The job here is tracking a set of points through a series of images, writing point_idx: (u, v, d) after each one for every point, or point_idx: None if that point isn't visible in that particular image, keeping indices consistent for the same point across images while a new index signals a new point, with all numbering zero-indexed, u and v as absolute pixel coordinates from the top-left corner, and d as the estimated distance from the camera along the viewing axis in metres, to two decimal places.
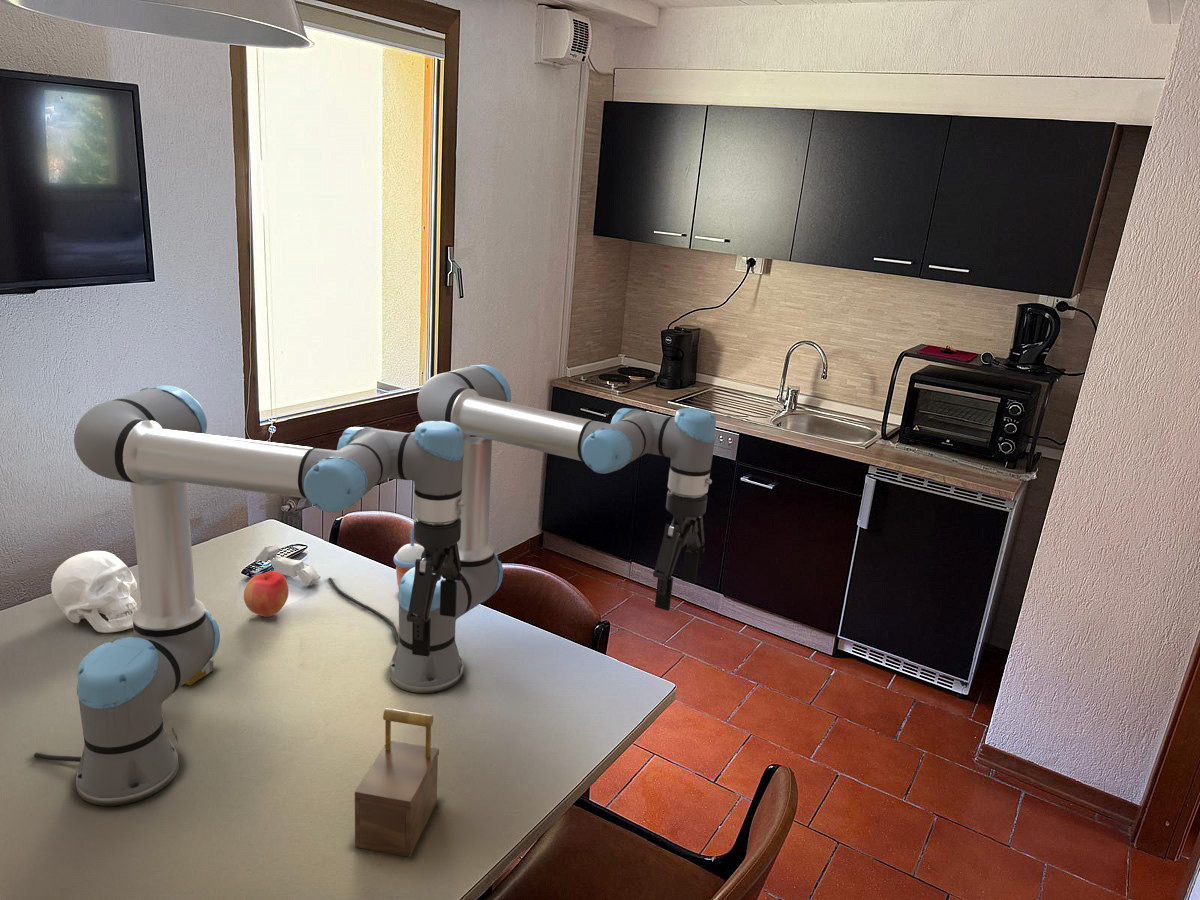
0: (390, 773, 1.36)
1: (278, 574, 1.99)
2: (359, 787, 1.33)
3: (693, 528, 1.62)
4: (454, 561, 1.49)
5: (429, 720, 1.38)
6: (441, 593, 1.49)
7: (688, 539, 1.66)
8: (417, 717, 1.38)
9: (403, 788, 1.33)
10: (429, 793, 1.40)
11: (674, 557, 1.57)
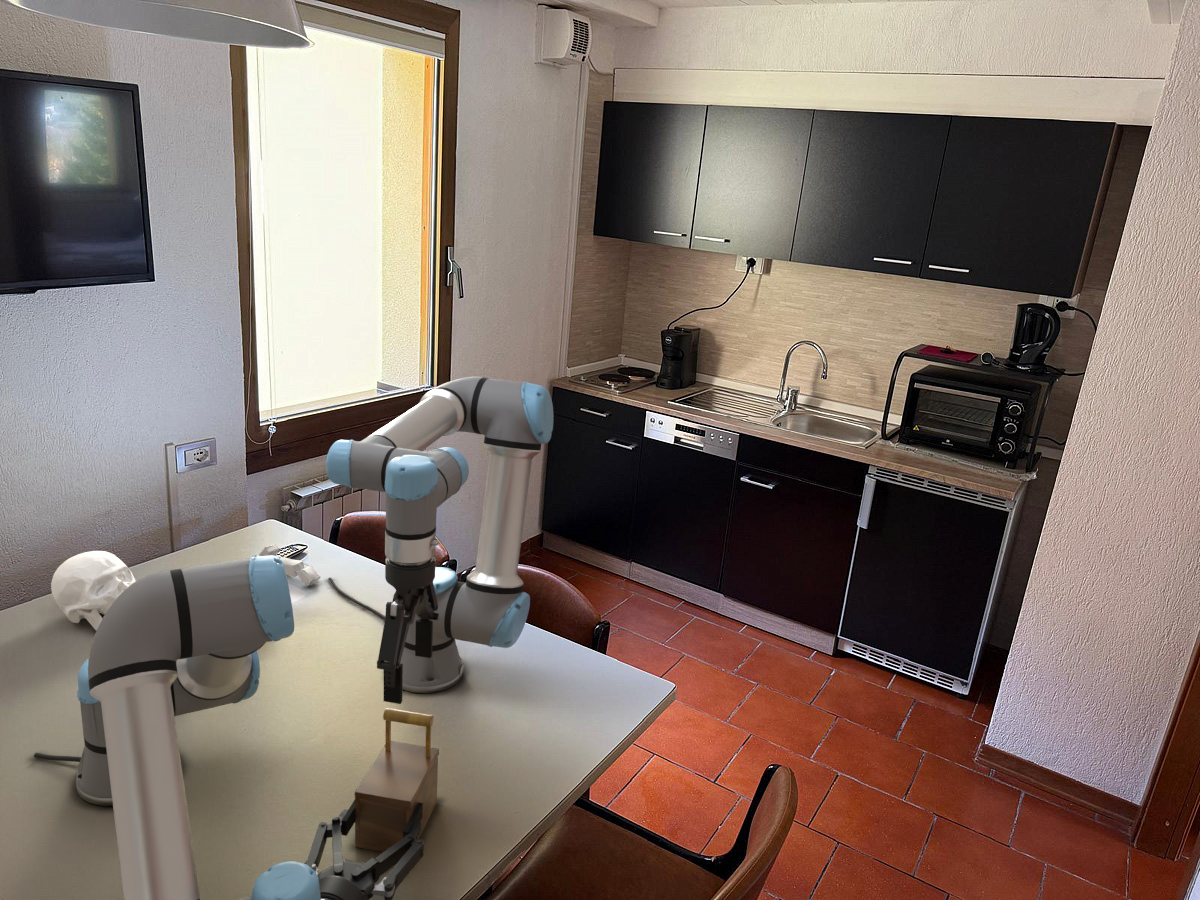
0: (390, 773, 1.36)
1: None
2: (359, 787, 1.33)
3: (422, 597, 1.34)
4: None
5: (429, 720, 1.38)
6: None
7: (418, 608, 1.38)
8: (417, 717, 1.38)
9: (403, 788, 1.33)
10: (429, 793, 1.40)
11: (401, 639, 1.28)
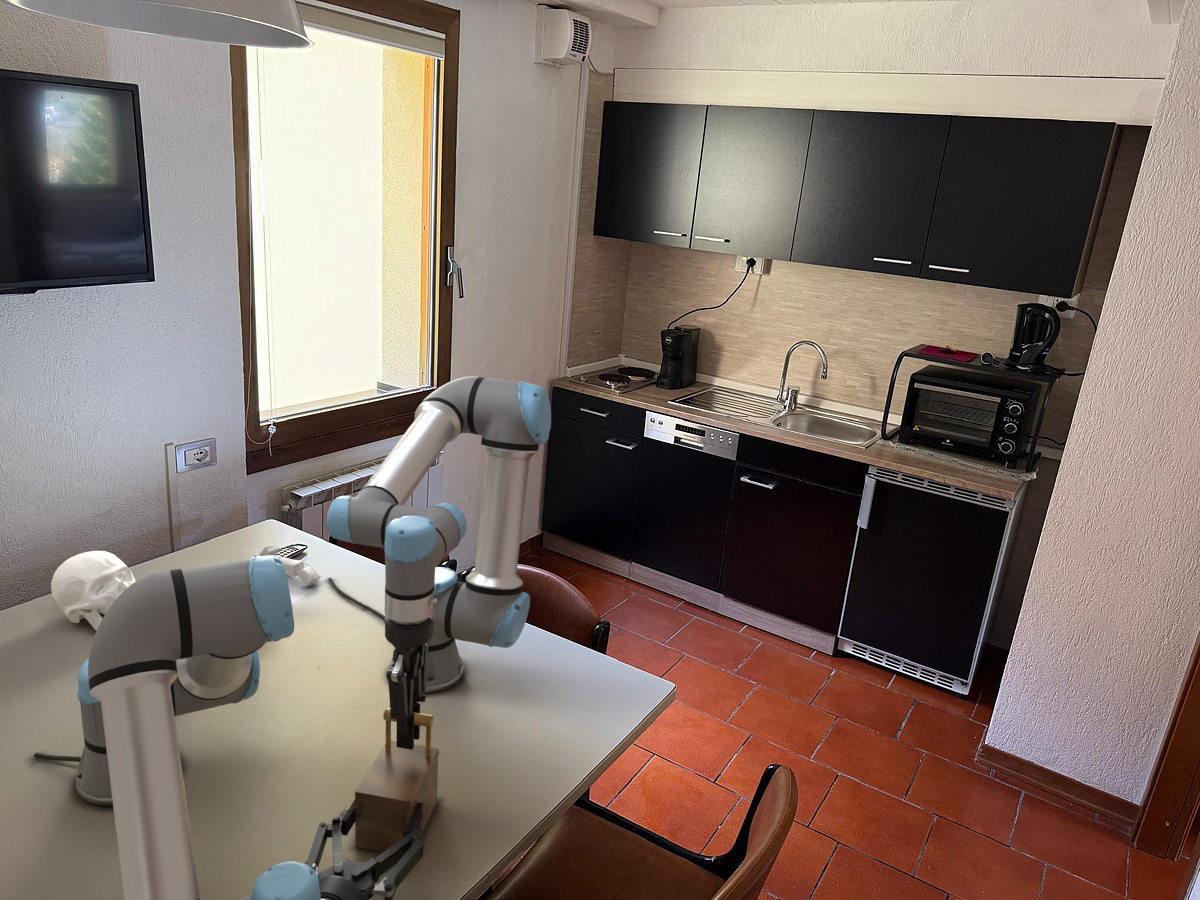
0: (390, 773, 1.36)
1: None
2: (359, 787, 1.33)
3: (419, 654, 1.36)
4: None
5: (429, 720, 1.38)
6: None
7: None
8: (417, 717, 1.38)
9: (403, 788, 1.33)
10: (429, 793, 1.40)
11: (409, 694, 1.35)
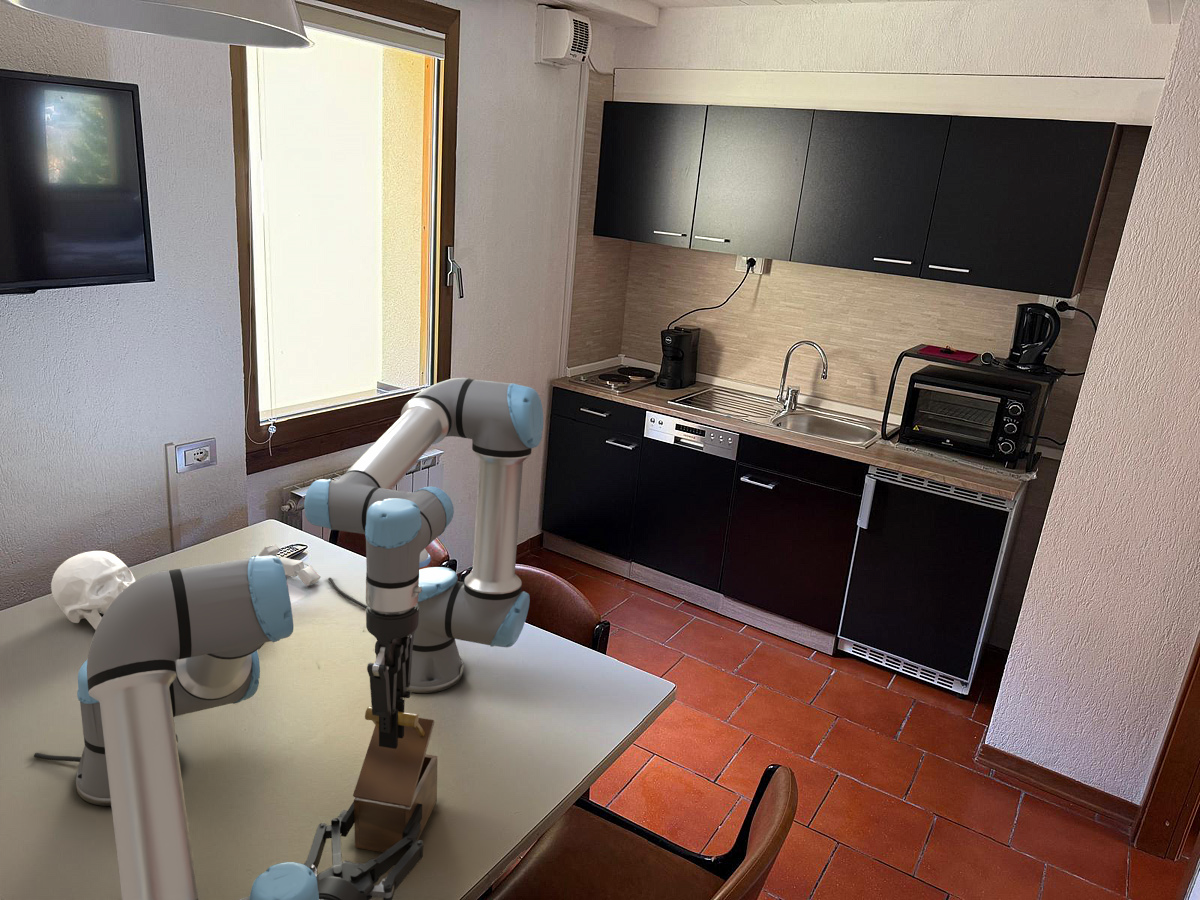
0: (386, 764, 1.33)
1: None
2: (357, 788, 1.31)
3: (403, 647, 1.28)
4: None
5: (413, 724, 1.29)
6: (408, 823, 1.30)
7: None
8: (400, 721, 1.30)
9: (400, 786, 1.31)
10: (429, 793, 1.40)
11: (391, 690, 1.26)
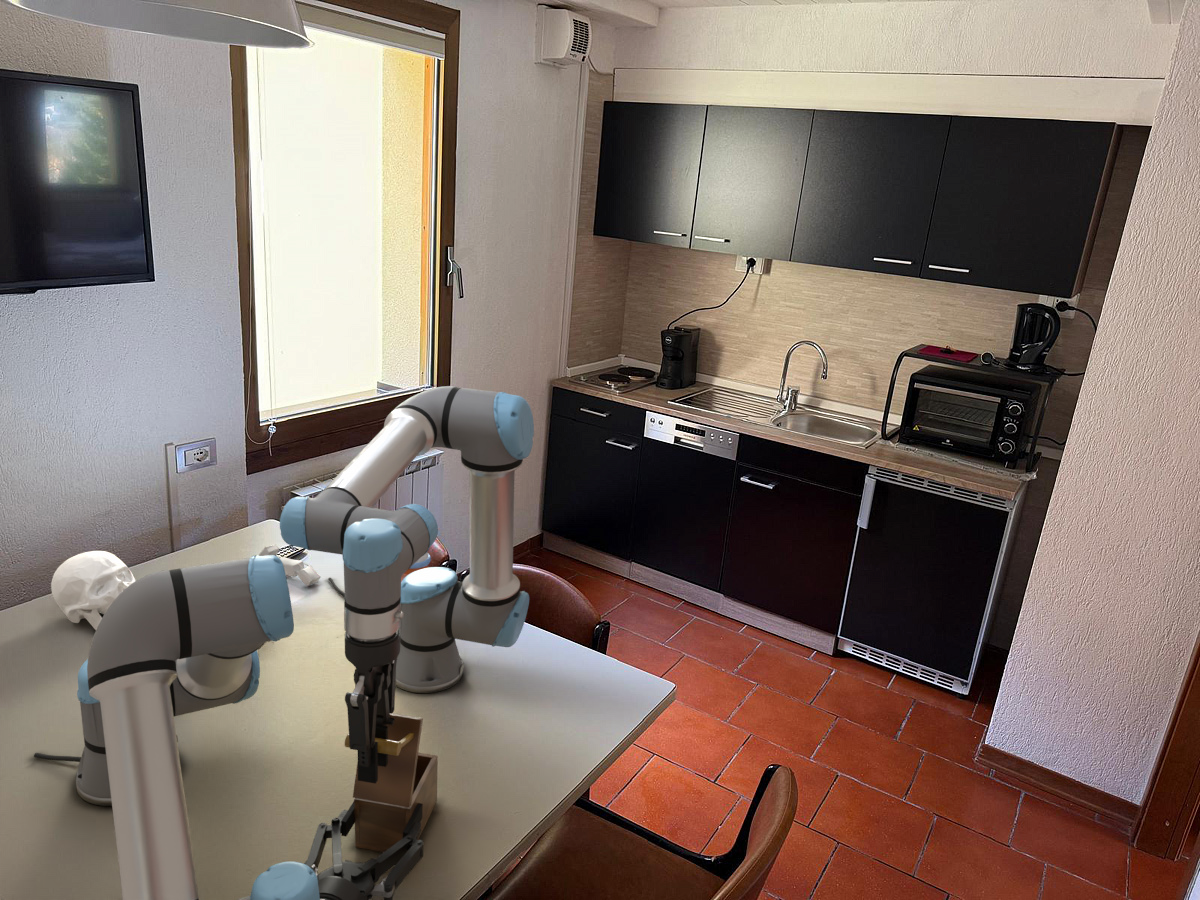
0: (380, 766, 1.31)
1: None
2: (355, 790, 1.31)
3: (385, 674, 1.21)
4: None
5: (396, 754, 1.23)
6: (408, 822, 1.30)
7: None
8: (382, 751, 1.23)
9: (397, 788, 1.30)
10: (429, 792, 1.40)
11: (371, 721, 1.19)
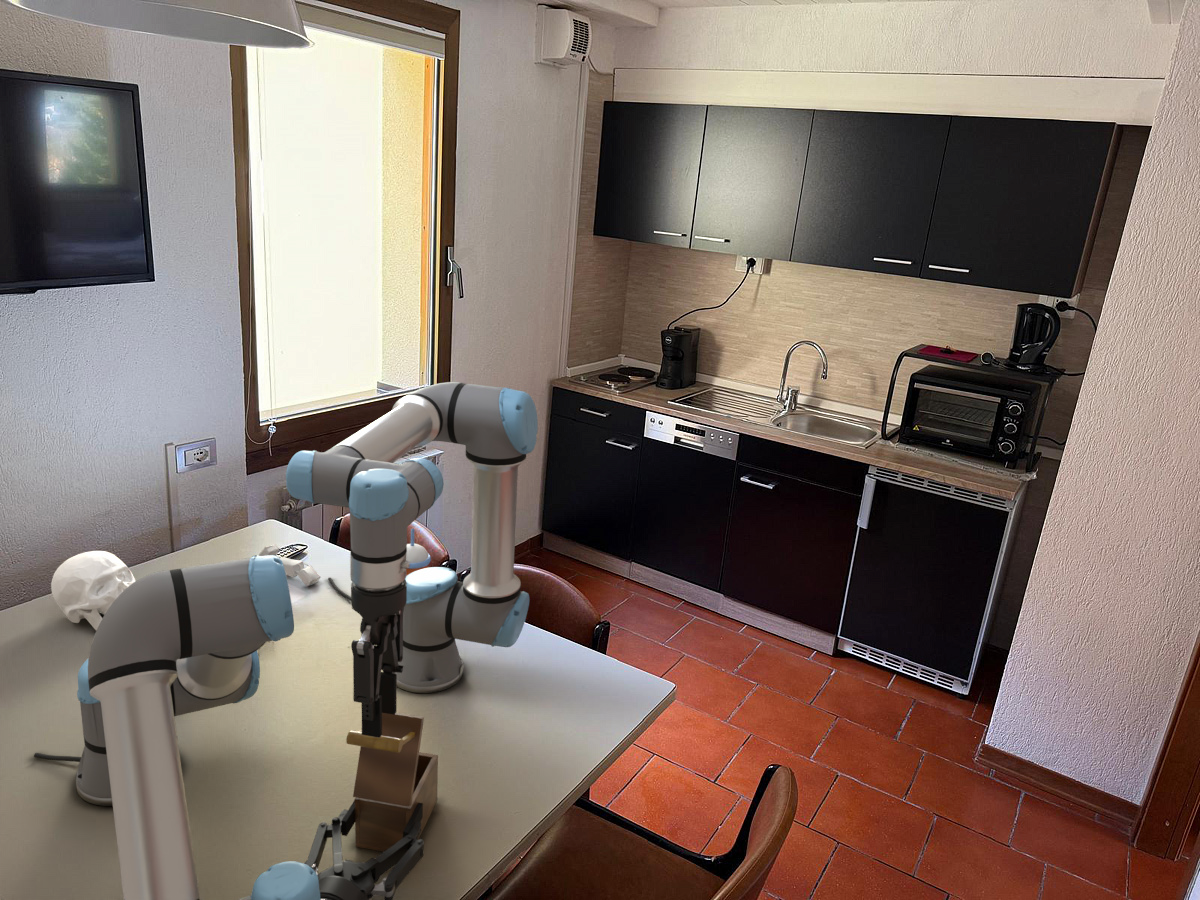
0: (380, 765, 1.31)
1: None
2: (355, 789, 1.31)
3: (391, 626, 1.22)
4: None
5: (397, 751, 1.23)
6: None
7: None
8: (383, 748, 1.23)
9: (398, 787, 1.30)
10: (429, 792, 1.40)
11: (376, 672, 1.19)
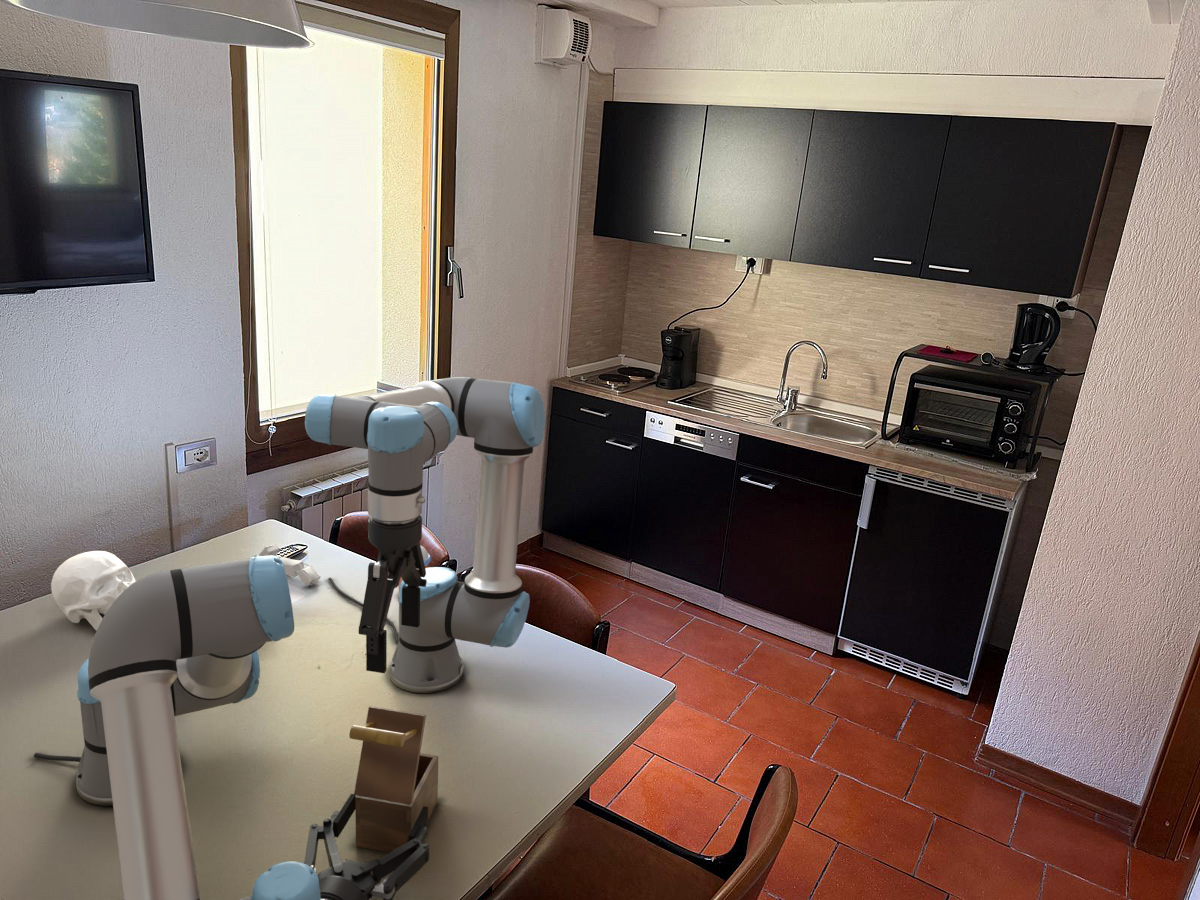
0: (382, 762, 1.32)
1: None
2: (357, 787, 1.31)
3: (408, 560, 1.25)
4: None
5: (400, 745, 1.24)
6: (413, 826, 1.30)
7: (404, 573, 1.30)
8: (386, 742, 1.24)
9: (399, 785, 1.31)
10: (430, 792, 1.40)
11: (385, 603, 1.19)
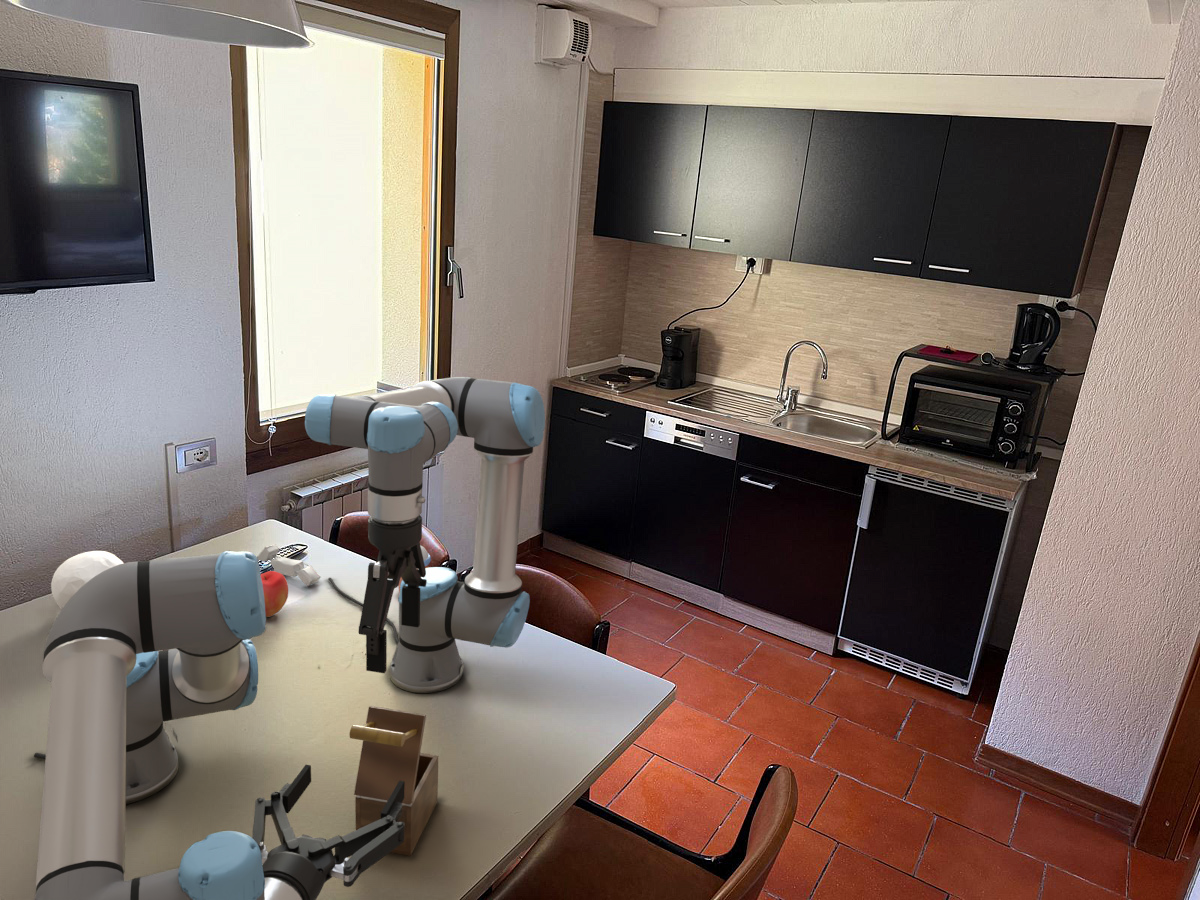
0: (382, 762, 1.32)
1: (278, 574, 1.99)
2: (357, 787, 1.31)
3: (408, 560, 1.25)
4: None
5: (400, 745, 1.24)
6: (387, 802, 1.13)
7: (404, 573, 1.30)
8: (386, 742, 1.24)
9: None
10: (430, 792, 1.40)
11: (385, 603, 1.19)
